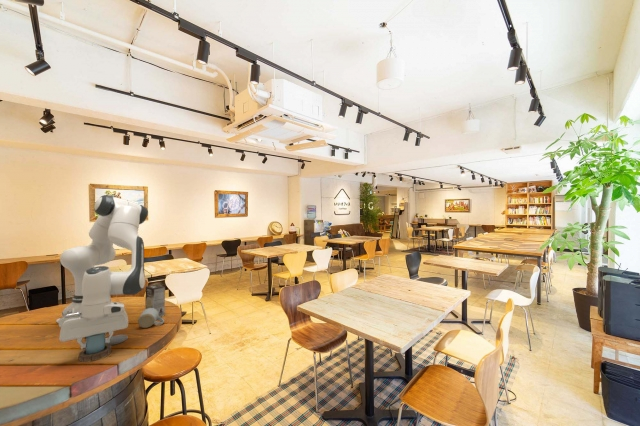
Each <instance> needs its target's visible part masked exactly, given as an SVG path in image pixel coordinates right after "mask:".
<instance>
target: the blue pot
mask: <svg viewBox="0 0 640 426" xmlns="http://www.w3.org/2000/svg"><path fill="white" fill-rule="evenodd" d="M105 338H106V333H101V334H97V335H92V336H87V337H86V338H85V343H86V348H85V349H86V355H89V354H95V353H99V352H102V351H104V350H105Z"/></svg>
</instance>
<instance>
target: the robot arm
mask: <svg viewBox="0 0 640 426" xmlns="http://www.w3.org/2000/svg"><path fill="white" fill-rule="evenodd" d="M93 210H94V212H95V213H96V214H97V215H98V217H97V218H96V219H95V221H94V223H93V224H92V226H91V228H90V229H89V232H88V236H89V238H90V239H91V243H90V244H89V245H83V246H74V247H71V248H68V249H65V250H64V251H62V253H61V254H60V257H59V261H60V264H61V266H63V267H64V268H65V269H67V270H68V271H70V272H69V273H71V275H72V277H73V279H74V294H73V295H71V296H72V297H71V298H72V299H71V302H70V304H68V305H67V306H66V307H64V309H63V311H61V316H60V318H57V319H56V320H55V321H56V323H58V326H59V328H60V331H59V339H58V340H59V341H60V342H68V341H72V340H76V342H77V344H79V346H80V350H84V349H86V342H83V338H85V337H87V336H92V335H97V334H101V333H105V334H107V333H108V336H107V337H105V344H107V343H110V338H111V337H112V336H114V332H115V331H119V330H124V329H127V328H128V326H129V317H128V314H127V310H125V309H126V308H125V304H124V303H123V302H118V301H112V297H111V296H121V295H125V296H136V295H137V294H139V293H141V291H142V290H143V289H145V287H146V286H145V285H146V278H145V277H146V276H145V243H144V240H143V238H142V237H140V236H139V232H138V231H139V228H140V225H142V224H143V223H144V222H145V221H146V220H147V218H148V215H149V211H148V208H147V207H145V206H144V205H142V204H138V203H137V202H133V201H131V200H128V199H123V198H120V197H116V196H113V195H110V194H109V195H108V194H104V195H101V196H100V197H99V198H98V199H97V200H96V201H95V203H94V209H93ZM114 245H116V246H118V247H120V248H123V249H126V250H129V251H130V252H131V262H130V263H131V267H130V269H129V270H127V271H111V269H110V267H108V266H107V265H106V266H105V265H104V264H107V263H109V262H111V261H113V260H114V259H115V257H116V255H117V254H116V249H115V248H114ZM99 265H100V266H99ZM106 332H107V333H106Z"/></svg>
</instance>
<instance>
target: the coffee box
mask: <svg viewBox="0 0 640 426" xmlns="http://www.w3.org/2000/svg"><path fill="white" fill-rule="evenodd" d="M144 304H145V307H144V310H145V309H147V308H154V309H156V310H157V311H158V313H159V316H158V317H161V318H162V317H165V314H166V313H165V309H166V307H165V306H166V286H164V285H161V284H158V283H157V284H153V285H152V284H151V285H146V286H145V302H144Z"/></svg>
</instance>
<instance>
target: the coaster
mask: <svg viewBox="0 0 640 426" xmlns="http://www.w3.org/2000/svg"><path fill="white" fill-rule="evenodd" d="M128 337H129V336H128V335H126V334H119V335H118V334H117V335H112V336H111V338H110V343H107V344H108V345H111V346H115V345H118V344H122V343H123V342H125V341H127V340H128Z"/></svg>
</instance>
